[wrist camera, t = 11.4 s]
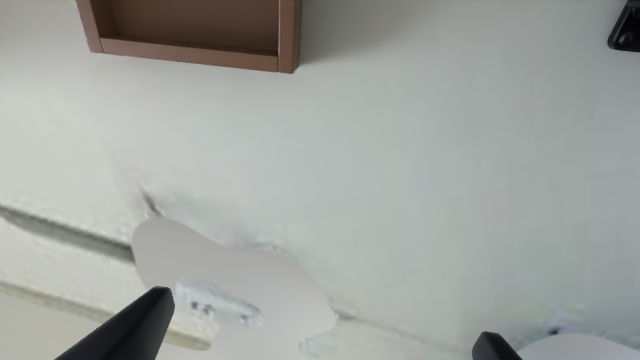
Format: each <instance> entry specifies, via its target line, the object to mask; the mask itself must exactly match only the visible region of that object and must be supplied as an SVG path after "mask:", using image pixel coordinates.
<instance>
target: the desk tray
mask: <svg viewBox="0 0 640 360" xmlns="http://www.w3.org/2000/svg"><path fill="white" fill-rule="evenodd" d="M75 1H76V4H77V8H78V11H79V15H80V18H81V22H82V25H83V29H84V32H85V36H86V39H87V43H88V46H89V50H90V52H95V53H105V54H113V55H122V56H131V57H140V58H149V59H158V60H168V61H177V62H186V63H195V64H204V65H214V66H223V67H232V68H241V69H250V70H259V71H269V72H280V73H288V74H293V73H294V71H295V70H296V69H297V68H298V67H299V56H300V35H301V13H302V0H75Z"/></svg>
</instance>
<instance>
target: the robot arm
mask: <svg viewBox="0 0 640 360" xmlns="http://www.w3.org/2000/svg"><path fill="white" fill-rule="evenodd" d="M623 35H625V39H624V40H623V41H622V42H621V43H619V39H620V38H621V37H622V36H623ZM608 46H609V47H610V48H611V49H615V50H621V51H631V52H640V0H628V2H627V4H626V6H625V8H624V10H623V11H622V13H621V15H620V17H619V19H618V21H617V23H616V25H615V27H614V29H613V31H612V33H611V34H610V36H609V39H608ZM174 309H175V304H174V300H173V296H172V292H171V289H170V288H168V287H161V286H156V287H153V288H152V289H150V290H149V291H148V292H146V293H145V294H144V295H142V296H141V297H139V298H138V299H137V300H135V301H134V302H133V303H131V304H130V305H128V306H127V307H126V308H124V309H123V310H122V311H120V312H119V313H117V314H116V315H115V316H113V317H112V318H111V319H109V320H108V321H106V322H105V323H104V324H102V325H101V326H100V327H98V328H97V329H96V330H94V331H93V332H91V333H90V334H89V335H87V336H86V337H85V338H83V339H82V340H80V341H79V342H78V343H76V344H75V345H74V346H72V347H71V348H69V349H68V350H67V351H65V352H64V353H63V354H61V355H60V356H59V357H57V358H56V359H54V360H155V358H156V356H157V353H158V351H159V348H160V346H161V343H162V341H163V338H164V336H165V333H166V331H167V328H168V326H169V323H170V321H171V318H172V316H173V313H174ZM472 357H473V360H522V359H521V358H520V356H519V355H518V354H517V353H516V352H515V351H514V350H513V349H512V347H511V346H510V345H509V344H508V343H507V342H506V341H505V340H504V338H503V337H502V336H501V335H499V334H498V333H493V332H486V331H484V332H482V333H481V335H480V336H479V338H478V340H477V341H476V343H475V345H474V346H473V349H472Z"/></svg>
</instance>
